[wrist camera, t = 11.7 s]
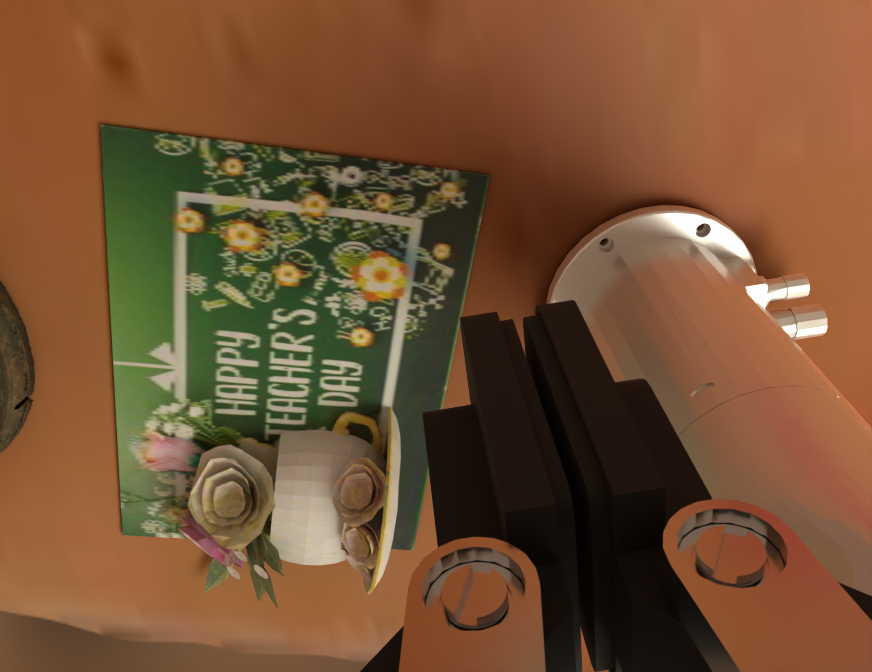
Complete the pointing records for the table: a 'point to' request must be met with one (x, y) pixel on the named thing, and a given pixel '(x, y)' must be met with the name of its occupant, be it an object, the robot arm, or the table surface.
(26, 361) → the owl figurine
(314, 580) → the table surface
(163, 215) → the decorative card
